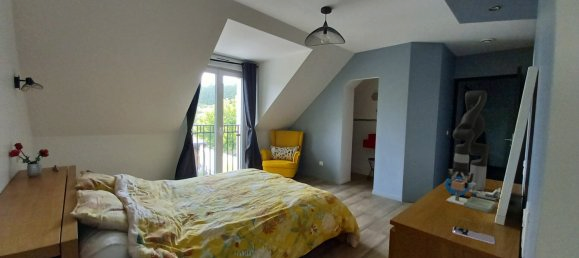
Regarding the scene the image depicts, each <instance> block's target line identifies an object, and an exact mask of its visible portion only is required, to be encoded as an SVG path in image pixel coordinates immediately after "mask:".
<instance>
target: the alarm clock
mask: <svg viewBox="0 0 579 258" xmlns="http://www.w3.org/2000/svg"><path fill="white" fill-rule="evenodd" d="M453 176H454V173H453V171H452V172H451V177H453ZM466 176H467V179H468V180H469V175H466ZM455 179H459V180H464V179H463V178H461V177H456V178H455ZM455 179H454V180H455ZM444 187H445V189H446V190H447V192H448V193H449V194H451V195H452V196H456V190H455V189H451V179H449V178H448V177H447V179H445V182H444ZM470 189H471V188H470V184H469V183H468V188H467V189H465V190H463V191H460V195H459V197H460V196H461V197H462V196H464V195H466V194H467V193H468V192H469V191H470Z"/></svg>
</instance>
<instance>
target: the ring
mask: <svg viewBox="0 0 579 258" xmlns="http://www.w3.org/2000/svg"><path fill="white" fill-rule="evenodd" d="M451 189H455V190H460V191H463V190H465V181H464V180H459V179H455V180H453V181H452V183H451Z"/></svg>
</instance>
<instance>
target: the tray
mask: <svg viewBox="0 0 579 258" xmlns="http://www.w3.org/2000/svg"><path fill="white" fill-rule="evenodd" d="M467 199H468V200H467V201H465V202H464V205H463V207H465V208H468V209H472V210H476V211H479V212H483V213H487V214H489V213H491V212H492V210H493V209H494V208H495V207H496V201H493V200H489V199H488V200H487V199H485V198H481V197H476V198H475V197H469V198H467Z"/></svg>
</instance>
